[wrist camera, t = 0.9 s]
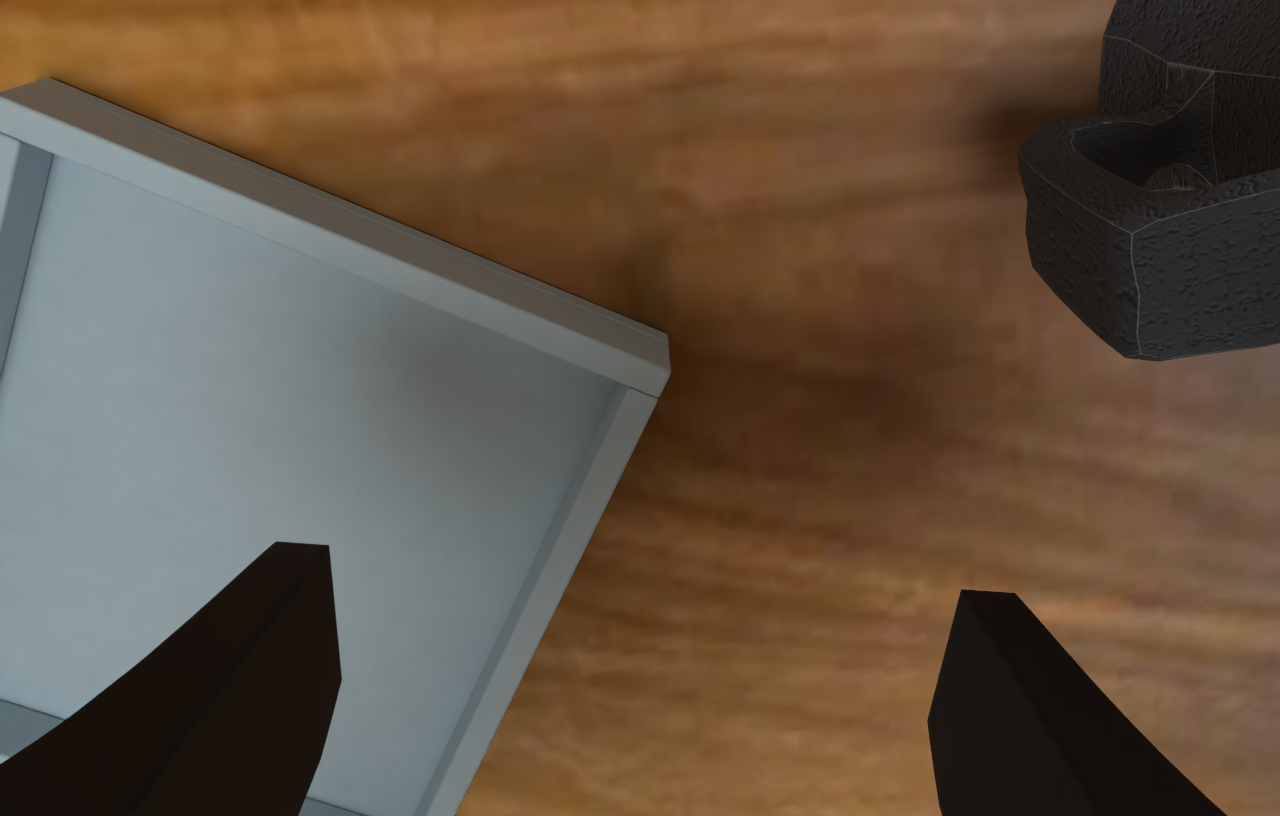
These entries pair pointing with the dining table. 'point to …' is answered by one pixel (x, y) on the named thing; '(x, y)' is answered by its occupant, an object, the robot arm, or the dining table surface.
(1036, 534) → the dining table surface
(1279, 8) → the mug
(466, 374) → the tray
